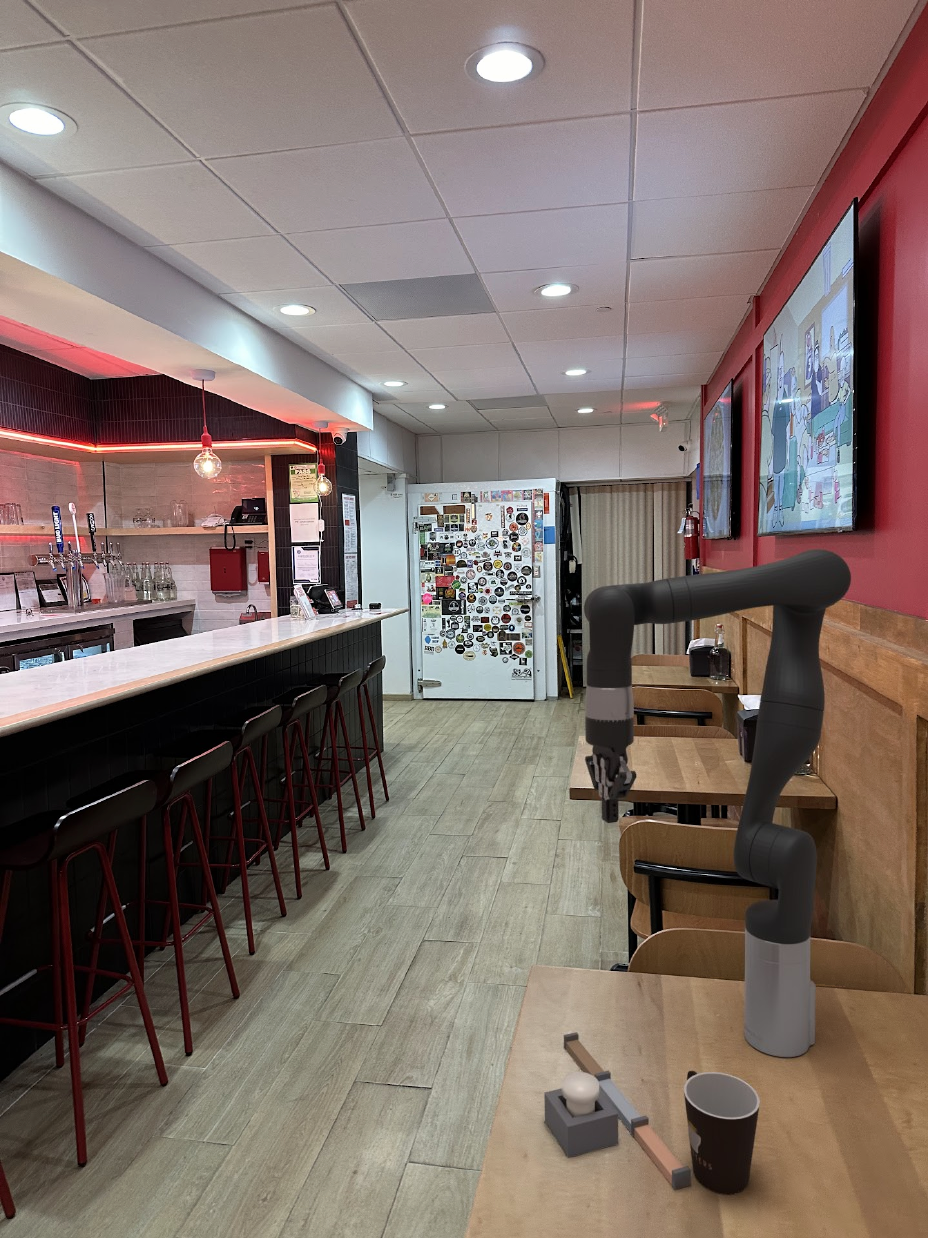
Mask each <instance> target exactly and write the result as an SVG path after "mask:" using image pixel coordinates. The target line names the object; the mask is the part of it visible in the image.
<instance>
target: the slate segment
mask: <svg viewBox="0 0 928 1238" xmlns="http://www.w3.org/2000/svg"><path fill="white" fill-rule="evenodd" d="M603 1071H604V1072H600V1073H596V1074H595V1078H596V1079H597V1080H598V1082H599V1090H600V1091H601V1093H602V1094H603V1095H604V1096H605V1098H606V1099H607V1100H608V1101H609V1103H610V1104H611V1105H612V1107H613V1108H614V1109H615V1110H616V1112H617V1113H618V1119H620V1121H621V1122H622V1123H623V1125H624V1126H625V1127H626V1128H627V1130H628V1131H629V1132H630V1133H631V1119H634V1118H638V1117H642V1115H641V1114H640V1113H639V1112H638V1111H637V1109H636V1108H635V1107H634V1106H633V1104H632V1103H631V1102H630V1101H629V1099H628V1098H627V1097H626V1096H625V1094H623V1092H622V1091H621V1089H619V1088H618V1086H617V1085H616V1084H615V1083H614V1081H613V1080H612V1079H611V1078H612V1075H611V1074H612V1072H611V1071H610V1070H603Z"/></svg>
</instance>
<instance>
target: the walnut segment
mask: <svg viewBox="0 0 928 1238" xmlns="http://www.w3.org/2000/svg"><path fill="white" fill-rule="evenodd" d="M563 1049H564V1050H565V1051H566V1052H567V1053H568V1054H569V1056H570V1057H571V1058H572V1059H573V1061H574V1062H575V1063H576V1064H577V1066H578V1067H579V1069H580V1070H581V1072H585V1073H588V1074H591V1075H593V1076H594V1077H595V1074H596V1073H600V1072H604V1071H605V1070H603V1068H602V1067H601V1065H599V1063H598V1062H597V1061H596V1060H595V1058H594V1057H593V1055H591V1053H590V1052H589V1051H588V1049H586V1047H585V1046H584V1045H583V1044H582V1042H580V1040H579V1033H578V1032H576V1031H575V1032H572V1033H567V1034H563Z"/></svg>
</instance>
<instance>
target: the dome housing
mask: <svg viewBox="0 0 928 1238" xmlns="http://www.w3.org/2000/svg"><path fill="white" fill-rule="evenodd" d="M543 1099H544V1122H545V1124H546V1126H547V1127H548V1129H549V1131H550V1132H551V1133H552V1134H553V1137H554V1138H555V1140H556V1141H557V1143H558V1145H559V1146H560V1148H561V1149H562V1150H563V1152H564V1153H565V1155H566V1156H567V1158H568V1159H569V1158H573V1157H575V1156H579V1155H583V1154H586V1153H590V1152H594V1151H598V1150H601V1149H605V1148H608V1147H612V1146H616V1145H618V1144H619V1117H618V1113H617V1112H616V1110H615V1109H614V1108H613V1107H612V1105H611V1104H610V1103H609V1101H608V1100H607V1099H606V1098H605V1096H604V1095H603V1094H602V1093H601V1091H600V1090H599V1097H598V1099H597V1100H596V1101H595V1112H593V1113H589V1114H585V1115H581V1116H578V1117H574V1118H572V1116H571V1115H570V1113H569V1112H568V1110H567V1106H566V1099H565V1098H564V1097H563V1095H562V1087H560V1088H558V1089H557V1088H556V1089H554V1090H550V1091H546V1092H544V1098H543Z"/></svg>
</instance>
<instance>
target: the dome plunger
mask: <svg viewBox="0 0 928 1238" xmlns="http://www.w3.org/2000/svg"><path fill="white" fill-rule="evenodd" d="M561 1088H562V1095H563V1097H564V1098H565V1099H566V1106H567V1110H568V1112H569V1113H570V1115H571V1116H572V1118H574V1117H578V1116H581V1115H585V1114H589V1113H593V1112H595V1101H596V1100H597V1099H598V1097H599V1082H598V1080H597V1079H596V1078H595V1077H594V1076H593V1075H591V1074H588V1073H585V1072H583V1071H573V1072H569V1073H567V1074H565V1075H564V1076H563V1077H562V1079H561Z"/></svg>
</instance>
